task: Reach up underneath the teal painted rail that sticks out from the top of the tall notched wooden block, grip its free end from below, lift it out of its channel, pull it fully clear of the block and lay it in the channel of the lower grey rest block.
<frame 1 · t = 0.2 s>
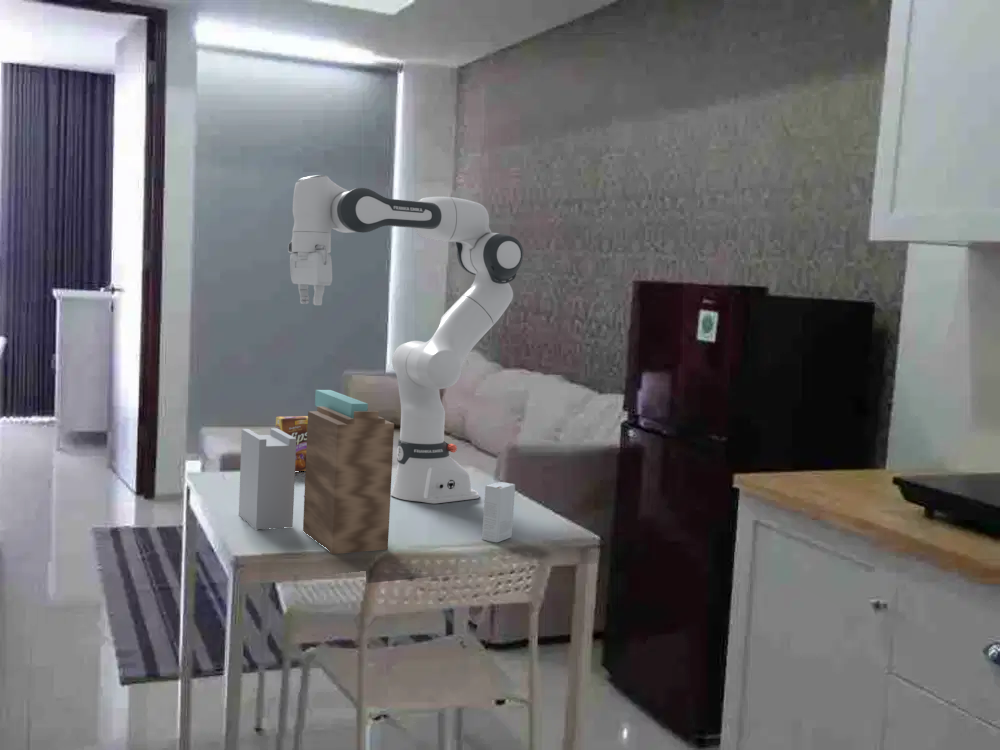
hand: (310, 304, 242), 47 cm above the table, tool pointing down, fingers open, 8 cm apart
rail: (339, 412, 218), point 26 cm above the table, touching notched wooden block
notched wooden block: (344, 540, 215), on the table
skincare box: (496, 540, 224), on the table
rest block: (265, 521, 227), on the table
candy box: (290, 472, 282), on the table
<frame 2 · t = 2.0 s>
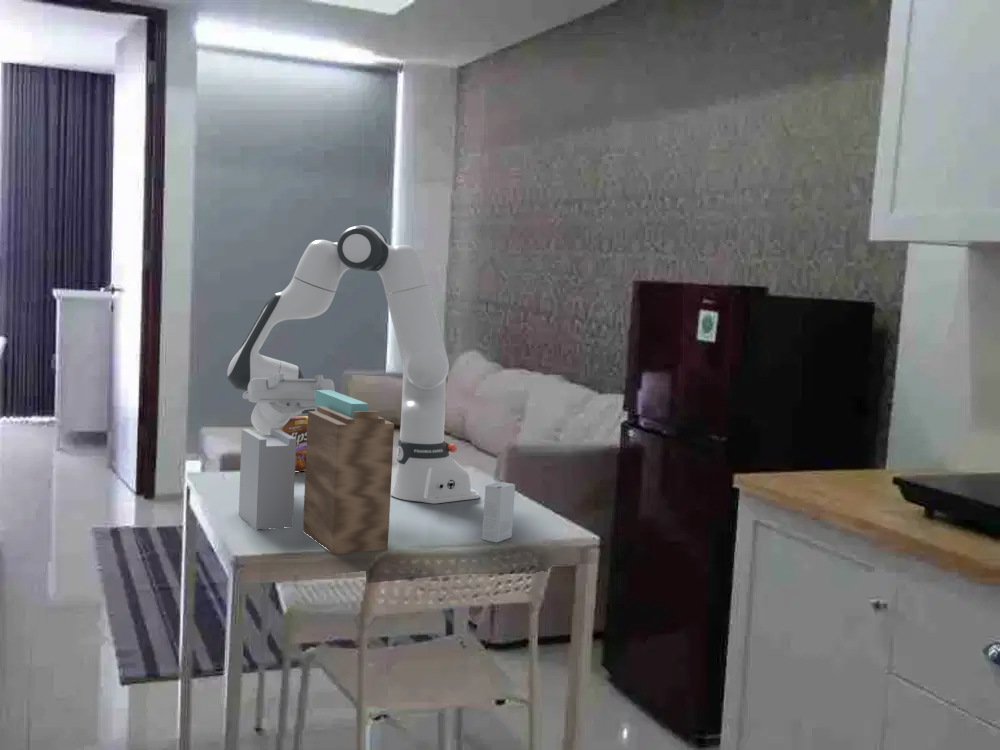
hand: (300, 377, 238), 31 cm above the table, tool pointing upward, fingers open, 8 cm apart
nothing on the table moved.
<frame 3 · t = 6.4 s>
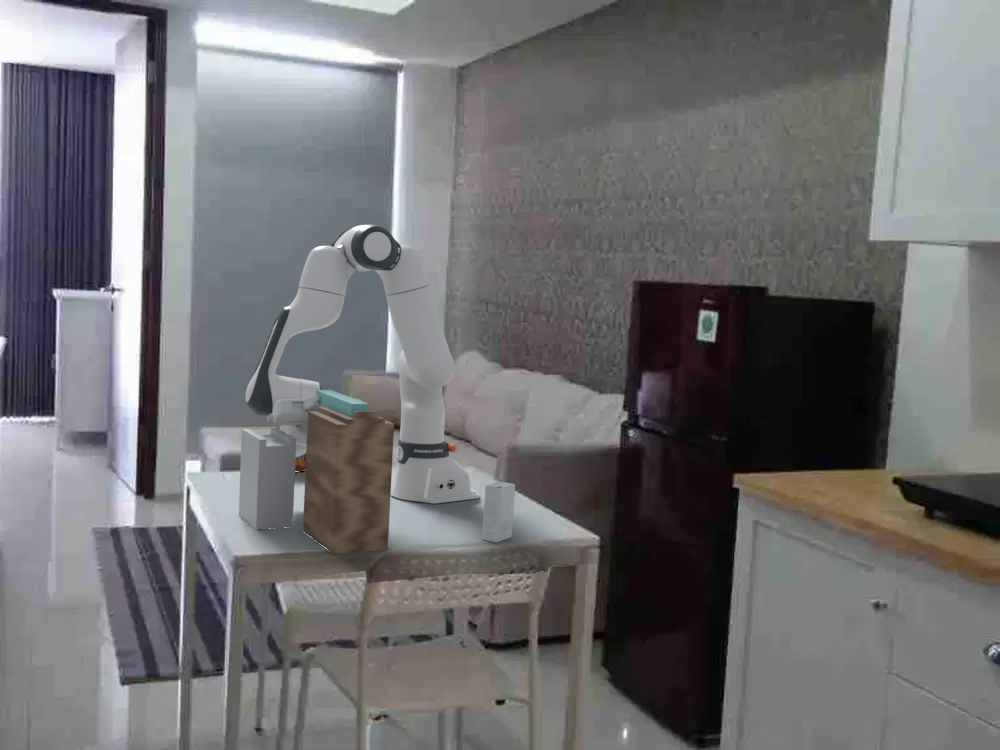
hand: (328, 398, 224), 28 cm above the table, tool pointing upward, fingers closed on rail, 3 cm apart
rail: (340, 412, 218), point 26 cm above the table, touching gripper, notched wooden block
everything else where it was.
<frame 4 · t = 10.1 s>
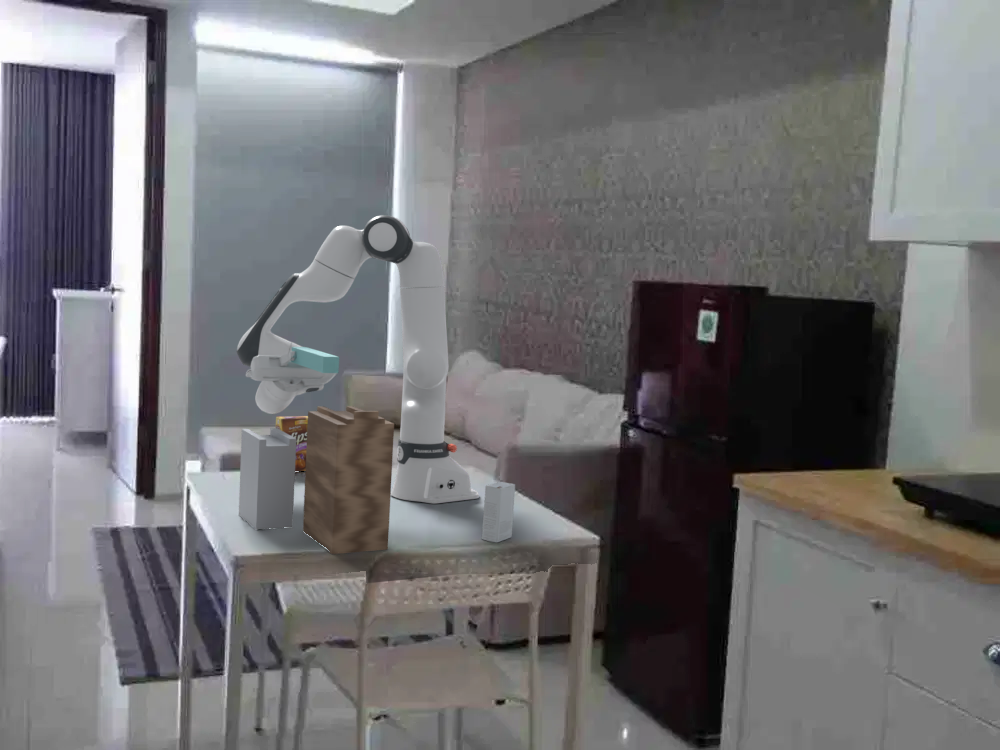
hand: (303, 354, 236), 36 cm above the table, tool pointing upward, fingers closed on rail, 3 cm apart
rail: (313, 367, 230), point 34 cm above the table, touching gripper
everything else where it was.
when the fingers open (21 cm above the table, at t = 14.1 s): rail stays where it is, resting on rest block.
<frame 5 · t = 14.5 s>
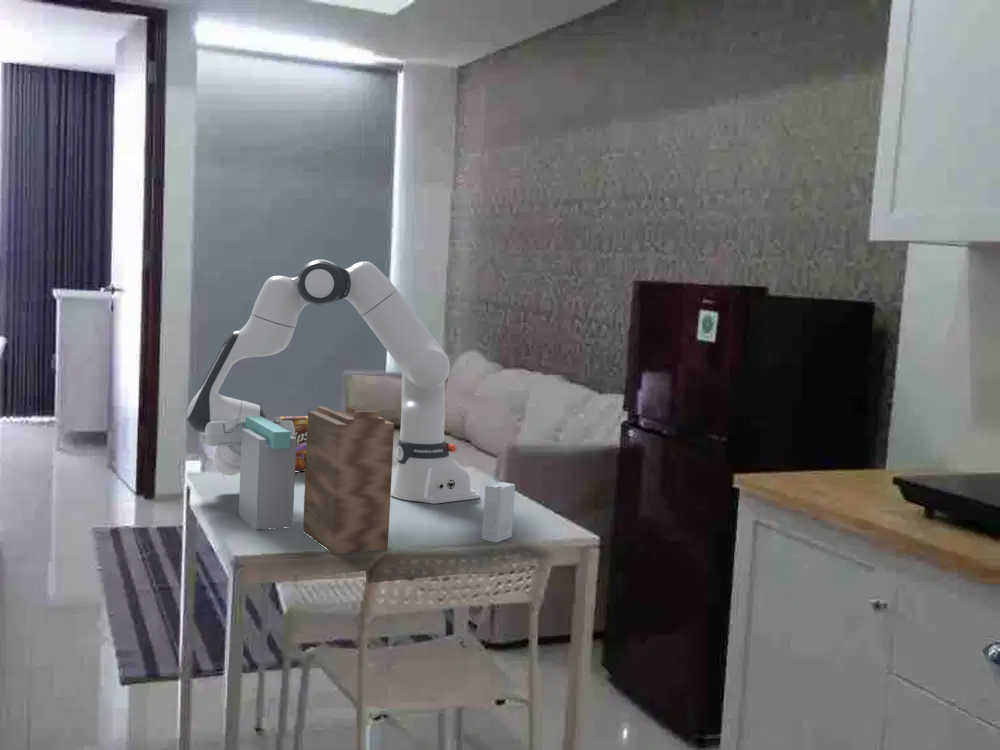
hand: (258, 420, 232), 21 cm above the table, tool pointing upward, fingers open, 8 cm apart
rail: (266, 439, 227), point 18 cm above the table, touching rest block
everything else where it was.
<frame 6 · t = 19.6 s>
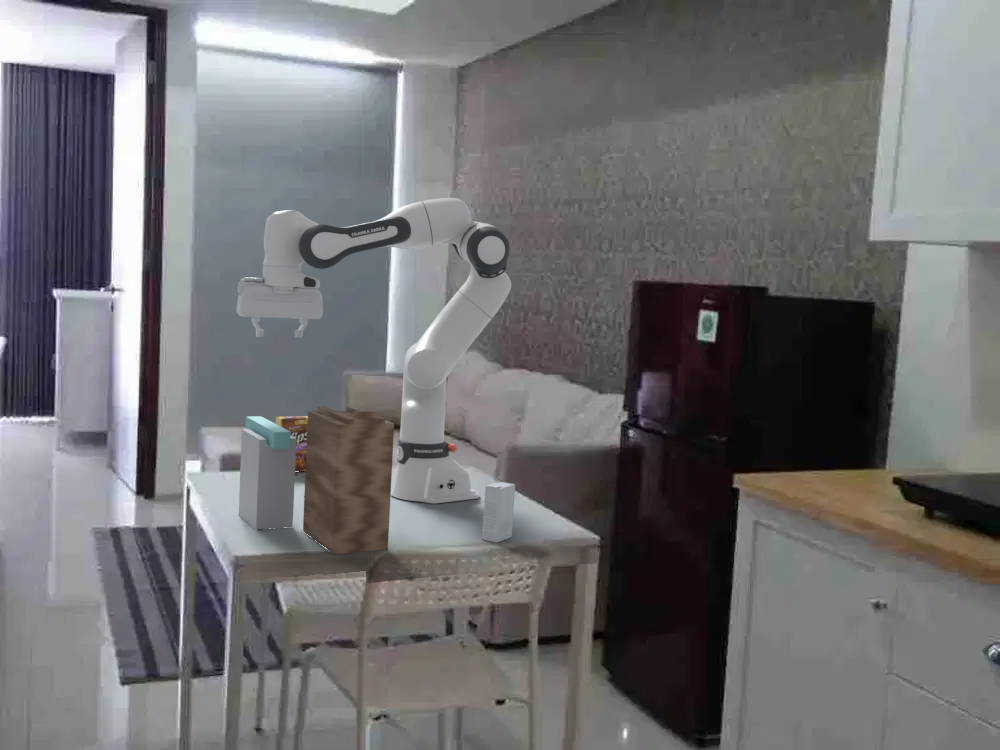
hand: (279, 337, 246), 39 cm above the table, tool pointing down, fingers open, 8 cm apart
nothing on the table moved.
at the end: rail inside the target area on the rest block (1.1 cm from its centre), point 18.0 cm above the rest block's base; the gripper is holding nothing; rail touching rest block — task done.
